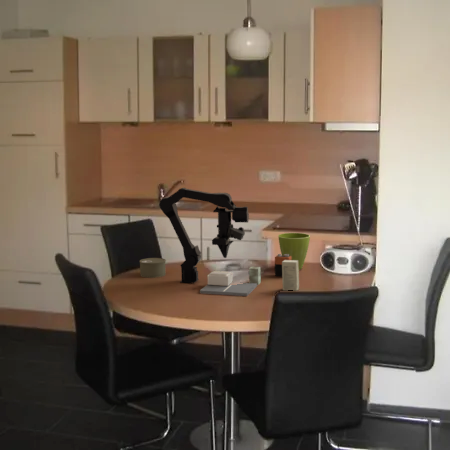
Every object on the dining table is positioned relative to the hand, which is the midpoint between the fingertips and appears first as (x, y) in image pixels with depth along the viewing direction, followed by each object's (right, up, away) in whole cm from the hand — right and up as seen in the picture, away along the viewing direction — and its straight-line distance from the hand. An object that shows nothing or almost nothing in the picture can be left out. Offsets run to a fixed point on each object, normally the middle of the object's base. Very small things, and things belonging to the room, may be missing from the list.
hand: (225, 257), depth 292 cm
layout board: (+2, -13, -11) cm, 17 cm away
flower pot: (+33, -7, +27) cm, 43 cm away
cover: (-2, -11, -6) cm, 12 cm away
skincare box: (+27, -13, -12) cm, 33 cm away
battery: (+26, -9, +13) cm, 31 cm away
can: (-33, -9, +19) cm, 39 cm away
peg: (+13, -11, -1) cm, 17 cm away
